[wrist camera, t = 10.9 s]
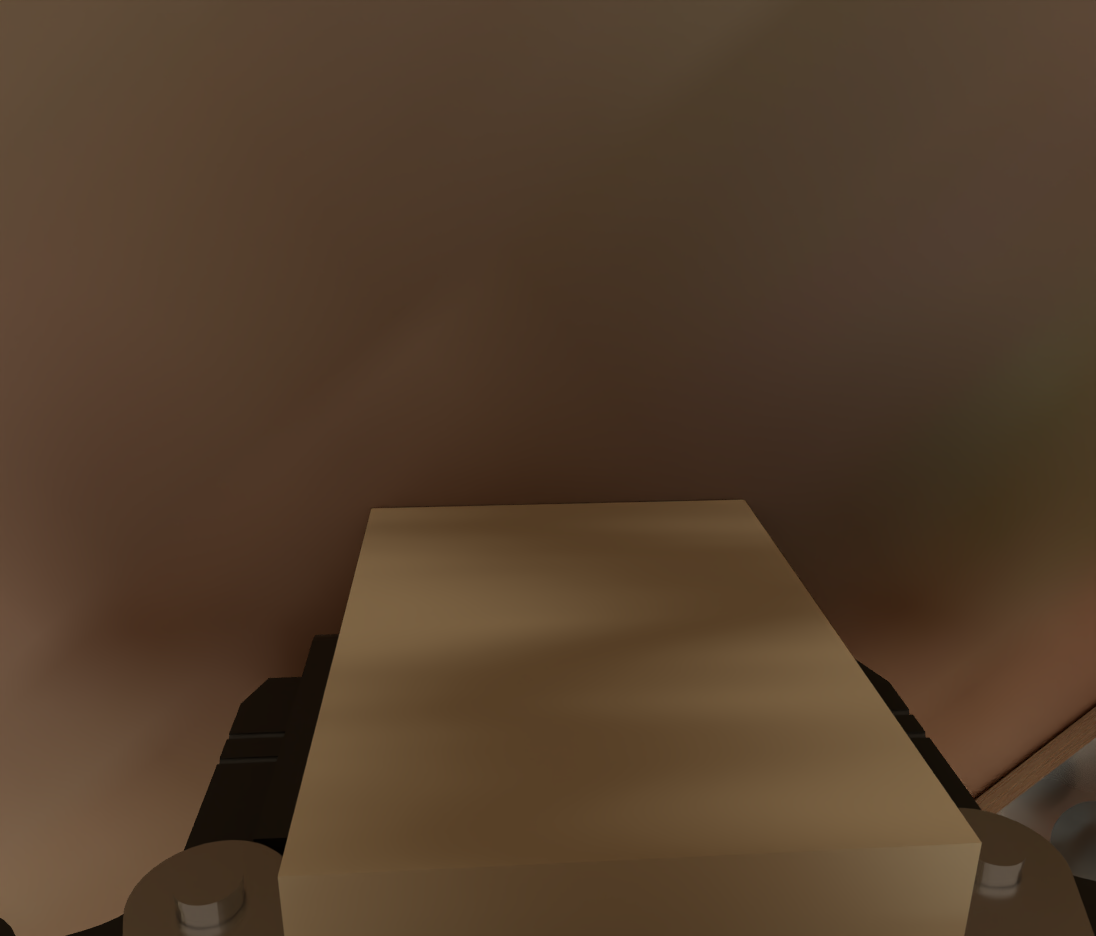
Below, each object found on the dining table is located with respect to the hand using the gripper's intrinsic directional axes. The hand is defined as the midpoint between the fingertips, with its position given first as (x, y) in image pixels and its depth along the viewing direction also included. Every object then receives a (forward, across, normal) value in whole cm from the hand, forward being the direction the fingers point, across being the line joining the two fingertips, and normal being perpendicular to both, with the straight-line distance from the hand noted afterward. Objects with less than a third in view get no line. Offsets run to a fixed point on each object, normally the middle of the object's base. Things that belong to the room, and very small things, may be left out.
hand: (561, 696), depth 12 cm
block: (+1, 0, 0) cm, 1 cm away
